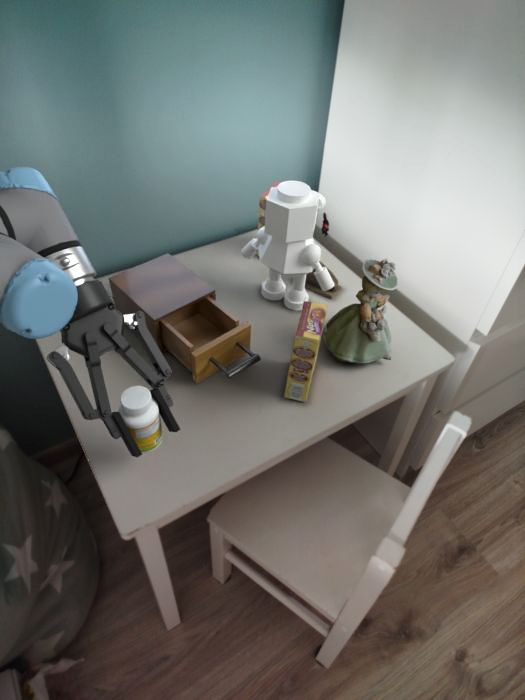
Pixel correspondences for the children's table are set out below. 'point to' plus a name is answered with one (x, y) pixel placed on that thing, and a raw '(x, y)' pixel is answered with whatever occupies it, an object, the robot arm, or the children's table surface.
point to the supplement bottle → (141, 417)
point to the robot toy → (290, 243)
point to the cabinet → (158, 291)
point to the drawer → (207, 339)
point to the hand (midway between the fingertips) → (156, 442)
